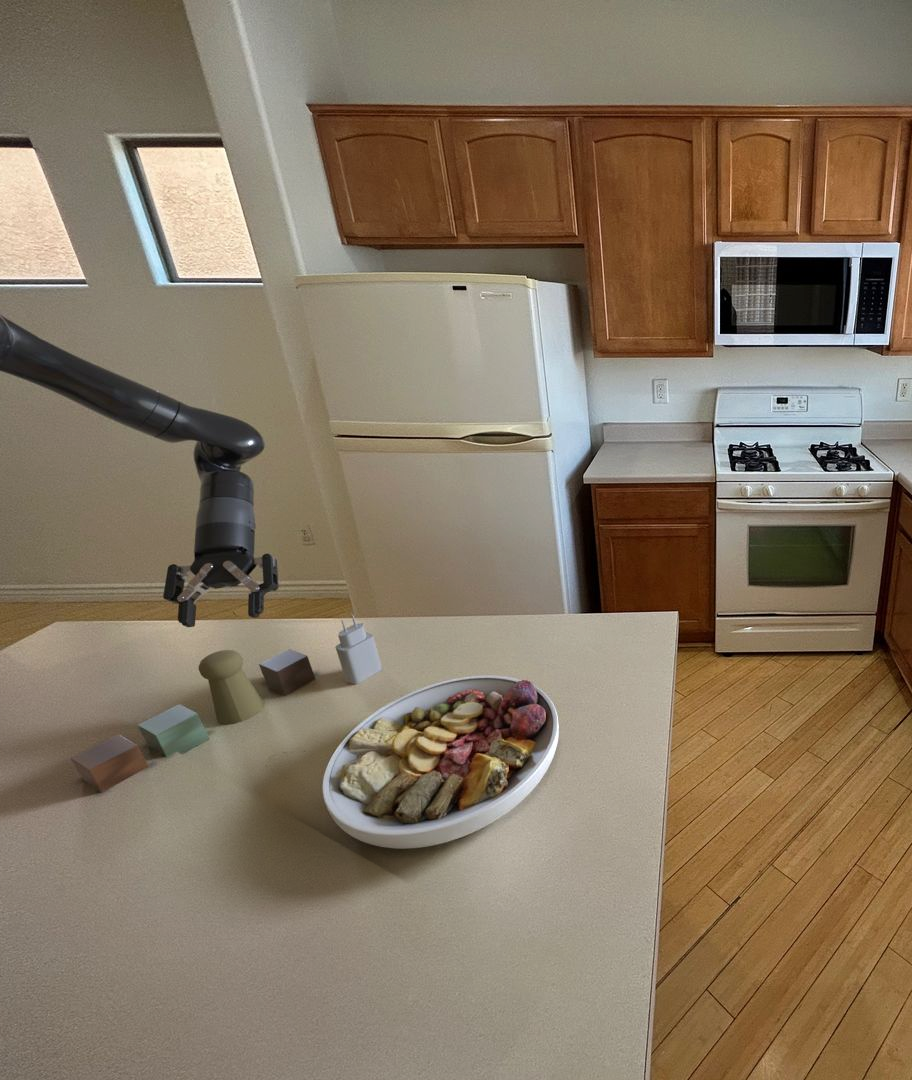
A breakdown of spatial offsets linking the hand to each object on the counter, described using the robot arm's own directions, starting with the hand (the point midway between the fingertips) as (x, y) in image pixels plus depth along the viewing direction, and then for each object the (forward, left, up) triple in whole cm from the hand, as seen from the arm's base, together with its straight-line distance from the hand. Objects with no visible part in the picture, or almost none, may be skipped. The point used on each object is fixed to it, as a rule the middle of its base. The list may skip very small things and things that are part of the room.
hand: (221, 621), depth 88 cm
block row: (-7, -3, -14) cm, 17 cm away
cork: (-3, -3, -15) cm, 15 cm away
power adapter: (+12, -12, -15) cm, 22 cm away
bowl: (+3, -44, -15) cm, 47 cm away
